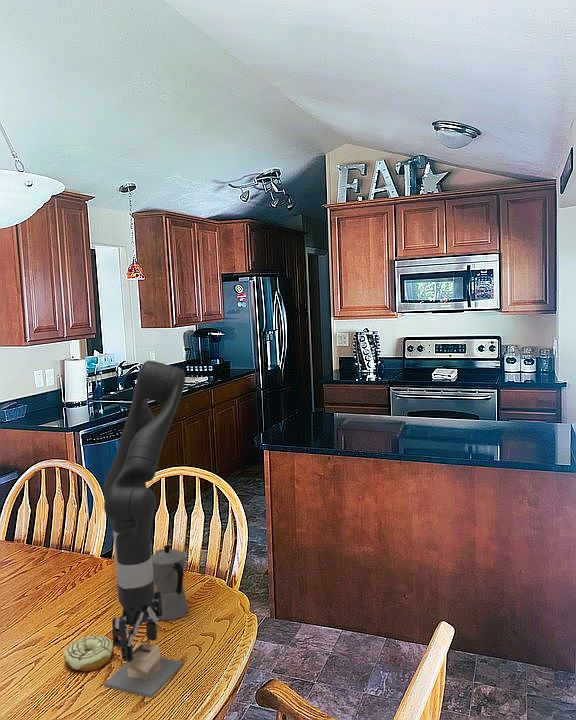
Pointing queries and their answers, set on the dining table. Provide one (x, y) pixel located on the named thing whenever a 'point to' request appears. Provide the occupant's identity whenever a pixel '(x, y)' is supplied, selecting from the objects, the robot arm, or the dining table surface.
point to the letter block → (144, 662)
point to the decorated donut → (88, 653)
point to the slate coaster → (141, 686)
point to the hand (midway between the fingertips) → (140, 649)
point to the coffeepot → (170, 582)
